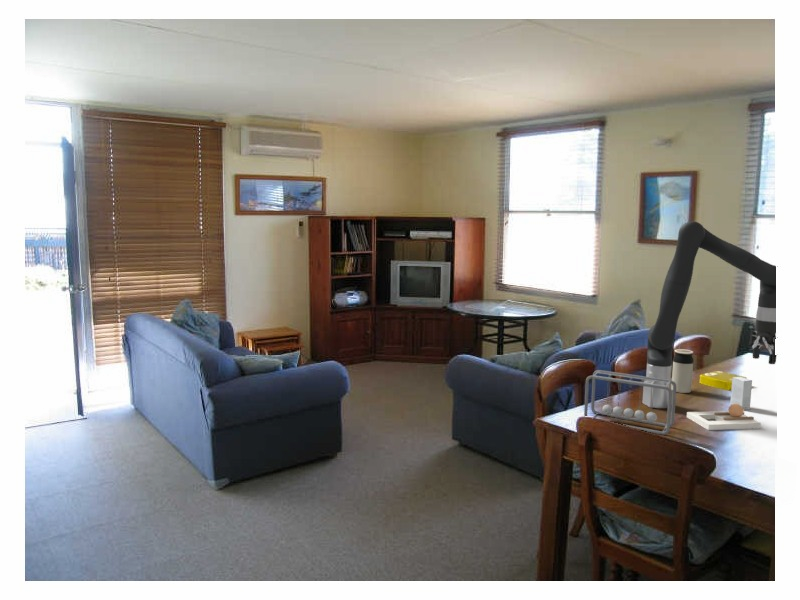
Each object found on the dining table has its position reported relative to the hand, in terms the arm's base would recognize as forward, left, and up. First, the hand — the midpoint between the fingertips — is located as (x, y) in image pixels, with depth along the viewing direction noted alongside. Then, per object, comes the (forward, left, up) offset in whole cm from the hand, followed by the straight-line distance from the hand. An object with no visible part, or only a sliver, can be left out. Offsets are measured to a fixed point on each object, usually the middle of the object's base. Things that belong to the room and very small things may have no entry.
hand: (763, 361), depth 230 cm
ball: (-12, -3, -18) cm, 22 cm away
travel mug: (-10, +37, -23) cm, 44 cm away
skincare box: (+1, +13, -23) cm, 26 cm away
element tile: (+15, +45, -23) cm, 52 cm away
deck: (-17, -3, -22) cm, 28 cm away
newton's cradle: (-53, -1, -23) cm, 58 cm away
